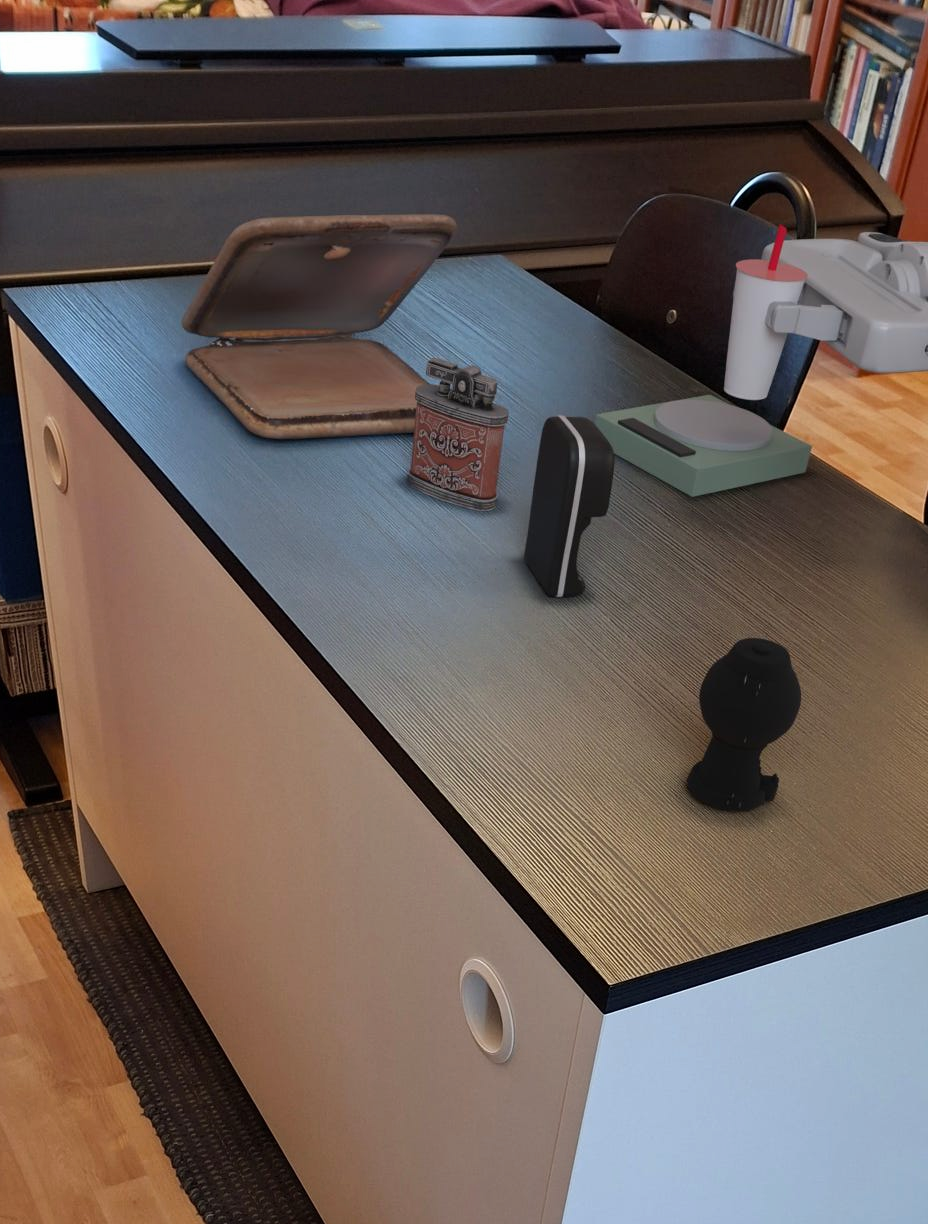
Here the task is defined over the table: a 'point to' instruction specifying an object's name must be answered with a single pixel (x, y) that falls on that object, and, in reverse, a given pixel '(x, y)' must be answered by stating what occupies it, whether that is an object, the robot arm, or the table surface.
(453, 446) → the lighter
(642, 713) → the table surface
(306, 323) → the case
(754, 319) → the cup
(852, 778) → the table surface
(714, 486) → the kitchen scale
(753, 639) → the gumball machine
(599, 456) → the battery charger
